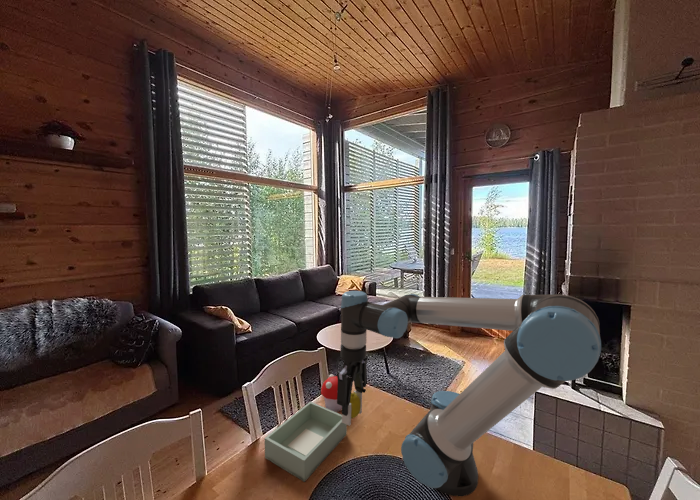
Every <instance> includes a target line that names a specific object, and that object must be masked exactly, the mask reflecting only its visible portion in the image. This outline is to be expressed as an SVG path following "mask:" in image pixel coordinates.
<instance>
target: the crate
mask: <svg viewBox="0 0 700 500" xmlns="http://www.w3.org/2000/svg"><path fill="white" fill-rule="evenodd" d="M347 426H348V425H347V424H344V423H342V413H338V412H334V411H332V410H329V409H327V408H326V406H322V405H319V404H317V403H315V402H313V401H309V402H308V403H306V404H304V406H303V407H301V408H300V409H298V410H297V411H296V412H294V414H293V415H292V416H290V417H289V418H288V419H286V420H285V421H284V422H283V423H281V425H279V426H278V427H276V428H275V429H274V430H273V431H271V432H270V433H269V434H268V435H267V436H265V437H264V458H265V459H266V460H268V461H269V462H271V463H273V464H274V465H276V466H277V467H279V468H281V469H282V470H284V471H286V473H289V474H290V475H292V476H294V477H295V478H298V479H299V480H301V481H302V482H306V481H307V480H308V479H309V478H310V477H311V475H312V474H313V473H314V472H315V471H316V469H318V467H319V466H321V464H322V463H323V462H324V461H325V460H326V459H327V457H328V456H329V455H330V454H331V453H332V452H333V450H334V449H335V448H336V447H338V445H339V444H340V443H341V442H342V440H343V439H345V437H346V436H347V434H348V433H347V429H348V427H347Z"/></svg>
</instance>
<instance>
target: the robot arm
mask: <svg viewBox="0 0 700 500" xmlns="http://www.w3.org/2000/svg"><path fill="white" fill-rule="evenodd" d="M340 301H341V302H340V303H341V304H340V353H339V354H340V358H341V359H342V360H343V365H342V370H341V371H337V373H336V376H337V378H338V388H337V404H338V405H341V406H342V410H341V415H342V423H344V424H347V426H349V427H350V426H351V425H352V418H351V403H350V398H351V393H354V394H356V395H357V396H358V397H359V399H360V403H361V409H360V412H359V414H358V415H361V414H362V412H363V410H362V409H363V393H364V394H365V393H366V391H367V390H366V387H367V384H368V383H367V377H368V376H367V373H368V372H367V365H368V364H367V363H368V356H367V345H366V344H367V332H368V331H369V332H373V333H375V334H379V335H382V336H384V337H387V338H393V339H400V338H401V337H403V335H404V333H406V331H407V328H408V324H409V323H415V324H416V323H417V324H429V325H442V326H451V327H452V326H453V327H465V328H476V329H486V330H487V329H488V330H497V331H499V330H500V331H508V332H509V331H512V332H511V333H510V334H509V335H507V336H506V337H505V338H504V340H503V347H504V351H503V352H502V353H501V354H500V355H499V356H498V357H497V358H496V359H495V360H494V361H493V362H492V363H490V364H489V365H488V367H487V368H485V369H484V370H483V372H481V373H480V374H479V375H478V376H477V377H476V378H475V379H474V380H473V381H472V382H471V383H470V384H469V385H468V386H467V387H466V388H464V389H463V391H461V392H460V393H458V392H456V391H455V392H454V391H451V390H450V391H449V390H440V391H439V390H438V391H436V392H434V393H433V394H432V396H431V400H430V403H431V406H430V409H429V411H428V412H427V413H426V414H425V415H424V416H423V417H422V419H420V421H419V422H418V423H417V424H416V425H415V426H414V428H413V429H412V430H411V432H410V433H409V434H407V435H405V439H404V440H403V441H402V443H401V448H400V450H401V455H402V460H403V463H404V466H405V467H406V468H407V470H408V471H409V473H410V474H411V476H413V478H414V479H416V480H417V481H418V482H419V483H421V485H425V486H426V487H428V488H429V489H430V488H431V489H436V490H437V491H439V492H441V493H443V494H445V493H446V494H445V495H448V496H453V497H465V496H468V495H471V494H472V493H474V492H475V490H476V489H477V487H478V484H479V471H478V466H477V464H476V460H475V456H474V452H473V451H474V443H475V442H477V440H479V439H480V438H481V437H482V436H484V434H486V433H487V432H489V431H490V430H491V429H492V428H493V427H495V426H496V425H497V424H498V423H499V422H501V421H502V420H503V419H504V418H506V417H507V416H508V415H509V414H511V413H513V411H514V410H515V409H517V408H518V407H519V406H521V405H522V404H523V403H524V402H525V401H527V400H528V399H529V398H530V397H531V396H533V395H534V394H535V393H536V392H538V391H539V390H540V389H541V388H546V389H550V390H553V389H557V388H558V387H560V386H561V385H563V384H564V383H565V382H570V381H574V380H575V381H576V380H579V379H581V378H583V377H585V376H586V375H588V374H589V373H590V372H591V371H592V370H593V369H594V368H595V366H596V365H597V363H598V362H599V359H600V356H601V352H602V339H601V334H600V333H601V327H600V326H601V325H600V320H599V317H598V316H597V314H596V312H595V310H594V309H593V307H591V306H590V305H589V304H588V303H586V302H585V301H583V300H582V299H580V298H577V297H575V296H573V295H568V294H522V295H521V296H519V297H518V298H489V297H487V298H485V297H484V298H483V297H451V296H450V297H443V296H440V297H439V296H438V297H437V296H420V295H418V294H415V293H410V294H404V295H402V296H401V297H398V298H397V299H394V300H391V301H389V302H387V303H384V304H379V303H374V302H370V301H369V298H368V294H367V293H366V292H365V291H362V290H348V291H345V292H344V293H342V295H341V300H340ZM353 385H354V389H355V390H353ZM352 391H353V392H352Z"/></svg>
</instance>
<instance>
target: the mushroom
mask: <svg viewBox="0 0 700 500" xmlns="http://www.w3.org/2000/svg"><path fill="white" fill-rule="evenodd" d="M337 388H338V378H337V375H336V376H335V375H334V374H333V373H331V374H329V376H328V377H327V379H326V380H324V382H323V383H322V385H321V391H320V394H321V396H323V397H324V398H323V399H324V400H323V401H324V404H325V406H324V407H325V408H327V409H329V410H332V411H334V412H336V413H338V412H341V411H342V406H341V405H338V404H337Z"/></svg>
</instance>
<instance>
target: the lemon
mask: <svg viewBox="0 0 700 500" xmlns="http://www.w3.org/2000/svg"><path fill="white" fill-rule="evenodd" d="M350 403H351V419H355V418H356V417H358V415H360V414H359V412H360V409H361V403H360V399H359V397H358V396H357V395H356V394H354V393H353V392H351V398H350Z"/></svg>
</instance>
